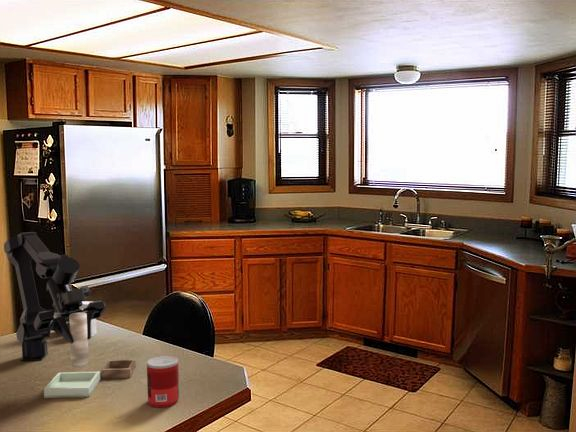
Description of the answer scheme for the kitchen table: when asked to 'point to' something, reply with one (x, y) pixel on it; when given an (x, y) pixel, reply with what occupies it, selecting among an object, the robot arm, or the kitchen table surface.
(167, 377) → the canned food
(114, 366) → the brown square open box
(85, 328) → the peg
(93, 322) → the skincare box
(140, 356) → the kitchen table surface
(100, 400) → the kitchen table surface
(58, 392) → the tray
